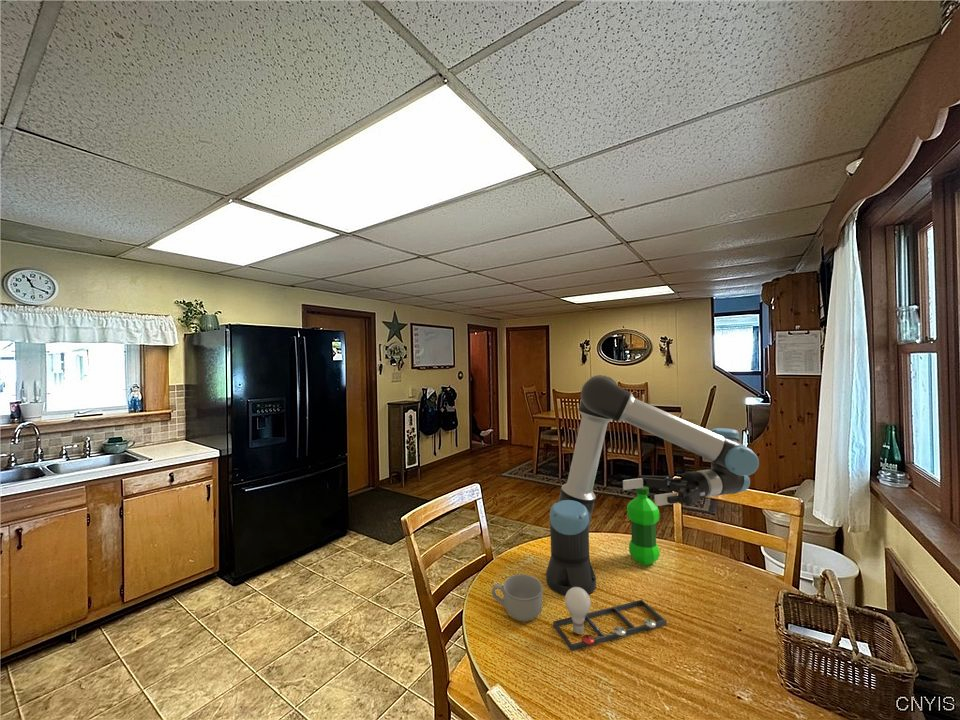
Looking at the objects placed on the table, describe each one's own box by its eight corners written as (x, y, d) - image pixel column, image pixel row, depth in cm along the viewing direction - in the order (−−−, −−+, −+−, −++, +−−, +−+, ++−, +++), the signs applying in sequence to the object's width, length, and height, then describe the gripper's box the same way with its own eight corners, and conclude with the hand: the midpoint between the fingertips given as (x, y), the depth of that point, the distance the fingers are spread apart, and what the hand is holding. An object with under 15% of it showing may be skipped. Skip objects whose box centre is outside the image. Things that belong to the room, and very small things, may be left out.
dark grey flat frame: (553, 626, 98) (553, 619, 98) (641, 604, 106) (641, 598, 106) (573, 654, 88) (573, 647, 88) (669, 628, 96) (669, 621, 96)
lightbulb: (589, 624, 98) (588, 582, 98) (593, 642, 92) (592, 597, 92) (564, 623, 99) (563, 581, 99) (566, 641, 92) (566, 595, 92)
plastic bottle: (656, 572, 121) (654, 494, 121) (623, 562, 128) (621, 488, 128) (664, 559, 129) (662, 486, 129) (632, 550, 136) (630, 480, 136)
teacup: (546, 605, 106) (545, 577, 106) (539, 632, 96) (538, 600, 96) (498, 597, 111) (498, 569, 111) (487, 621, 100) (486, 590, 100)
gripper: (738, 512, 100) (672, 523, 95) (669, 484, 124) (612, 491, 119) (737, 483, 100) (671, 493, 95) (668, 461, 124) (612, 467, 119)
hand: (638, 492), depth 107 cm, fingers open, 13 cm apart
